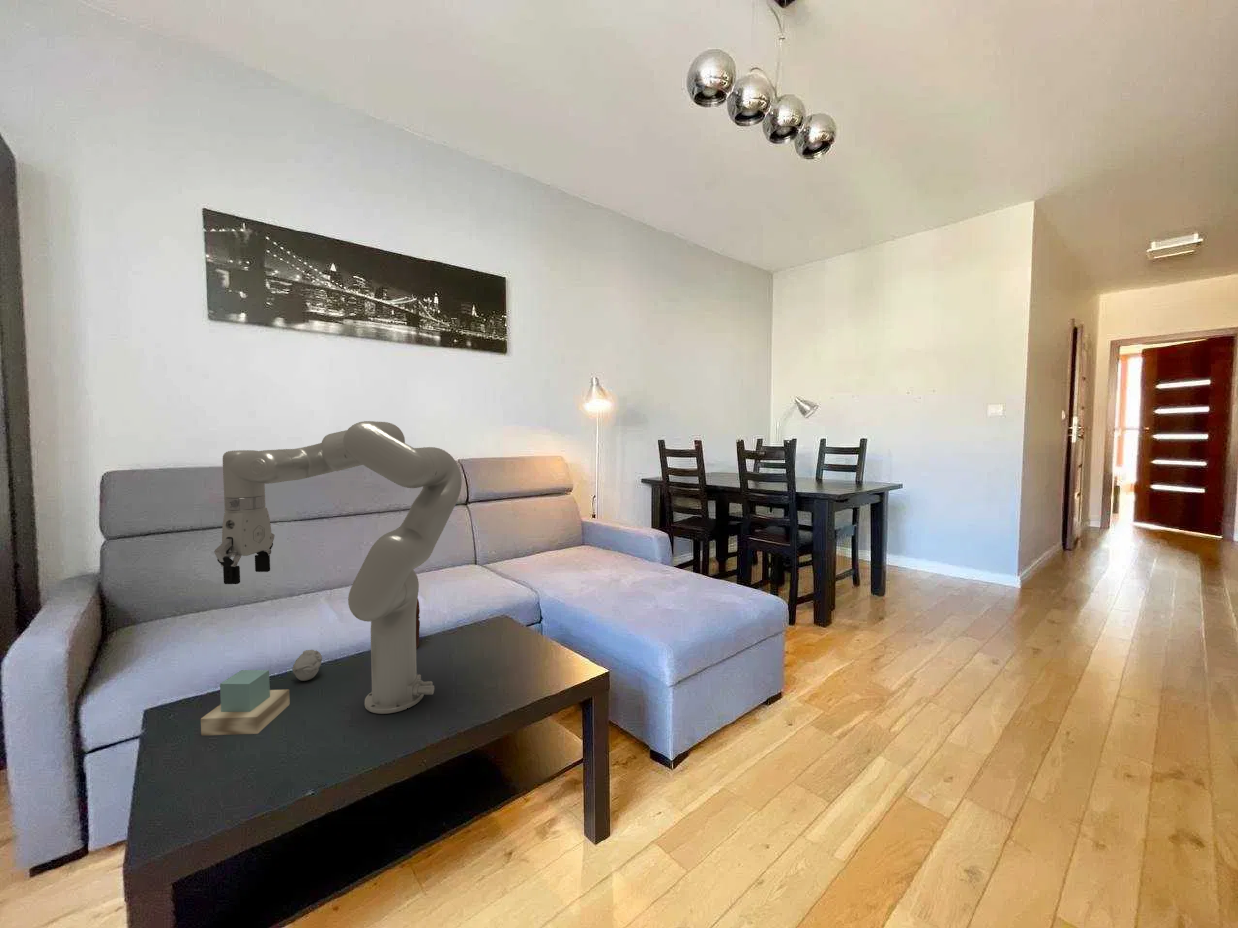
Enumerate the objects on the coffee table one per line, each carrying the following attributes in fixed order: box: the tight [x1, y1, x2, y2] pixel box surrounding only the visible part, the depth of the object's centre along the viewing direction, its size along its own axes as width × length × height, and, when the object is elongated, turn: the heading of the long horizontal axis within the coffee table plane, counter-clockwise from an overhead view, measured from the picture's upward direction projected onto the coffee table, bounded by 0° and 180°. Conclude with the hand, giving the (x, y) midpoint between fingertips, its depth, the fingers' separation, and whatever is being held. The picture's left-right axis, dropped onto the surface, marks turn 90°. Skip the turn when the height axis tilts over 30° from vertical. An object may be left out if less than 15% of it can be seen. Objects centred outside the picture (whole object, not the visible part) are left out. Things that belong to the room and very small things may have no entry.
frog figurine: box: [291, 649, 323, 682], centre depth 124 cm, size 6×7×7 cm
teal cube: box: [219, 669, 271, 712], centre depth 106 cm, size 6×6×6 cm
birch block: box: [200, 688, 291, 736], centre depth 106 cm, size 11×11×4 cm
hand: (248, 577), depth 114 cm, fingers open, 9 cm apart
